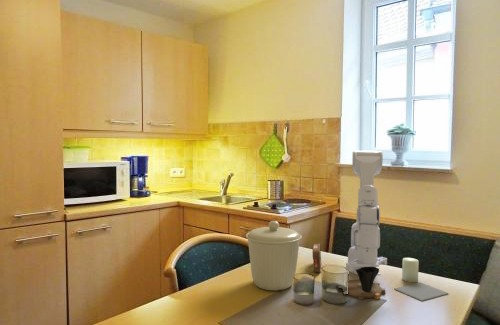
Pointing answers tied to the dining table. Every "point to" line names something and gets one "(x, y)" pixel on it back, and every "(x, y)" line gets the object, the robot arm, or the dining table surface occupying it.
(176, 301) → the dining table surface
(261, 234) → the canister
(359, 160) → the robot arm
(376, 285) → the sprocket wheel
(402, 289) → the slate mat
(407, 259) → the sage can
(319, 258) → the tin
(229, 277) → the dining table surface
